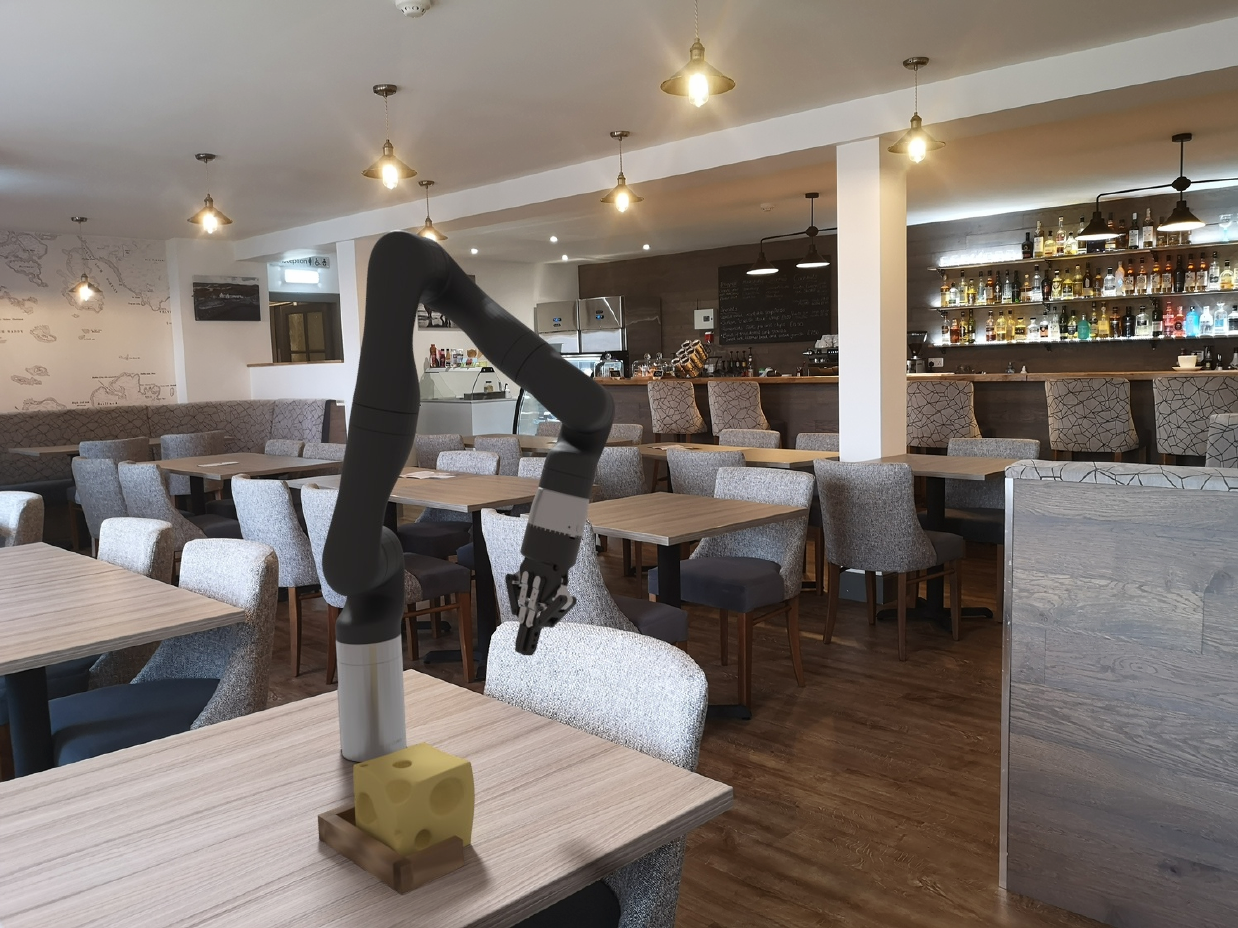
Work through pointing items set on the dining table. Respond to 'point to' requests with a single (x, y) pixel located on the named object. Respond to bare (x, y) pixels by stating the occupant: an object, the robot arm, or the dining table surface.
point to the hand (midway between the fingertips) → (523, 653)
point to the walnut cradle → (387, 852)
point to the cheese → (414, 798)
